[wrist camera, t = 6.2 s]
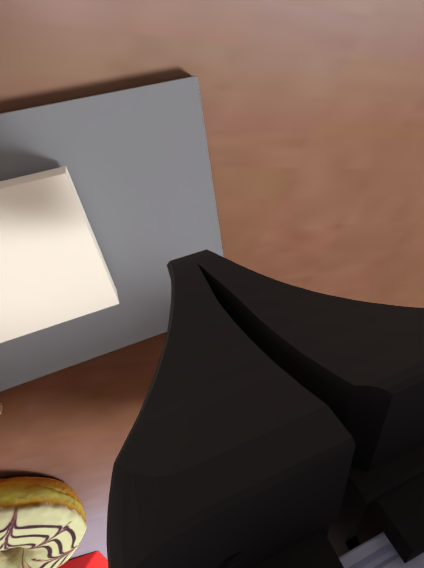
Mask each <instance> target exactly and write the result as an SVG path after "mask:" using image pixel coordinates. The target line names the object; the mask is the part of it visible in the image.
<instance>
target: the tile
mask: <svg viewBox="0 0 424 568" xmlns="http://www.w3.org/2000/svg"><path fill="white" fill-rule="evenodd" d="M117 304H119V299H118V295H117V290H116V287H115V285H114V282H113V280H112V278H111V275H110V273H109V270H108V268H107V265H106V263H105V260H104V258H103V255H102V253H101V251H100V248H99V246H98V243H97V241H96V238H95V236H94V233H93V231H92V228H91V226H90V224H89V221H88V219H87V216H86V214H85V211H84V209H83V206H82V204H81V201H80V199H79V197H78V194H77V192H76V189H75V187H74V184H73V182H72V179H71V177H70V174H69V172H68V170H67V167H66V166H64V167H59V168H55V169H51V170H47V171H42V172H38V173H34V174H29V175H25V176H21V177H17V178H12V179H8V180H4V181H0V343H2V342H5V341H8V340H11V339H14V338H17V337H20V336H23V335H26V334H29V333H32V332H35V331H38V330H41V329H45V328H48V327H51V326H54V325H57V324H60V323H63V322H66V321H69V320H72V319H75V318H78V317H81V316H84V315H87V314H90V313H93V312H96V311H99V310H102V309H105V308H108V307H111V306H114V305H117Z"/></svg>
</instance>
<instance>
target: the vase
mask: <svg viewBox="0 0 424 568" xmlns="http://www.w3.org/2000/svg"><path fill="white" fill-rule="evenodd" d="M58 568H108V560H107V559H106V558H105V557H104V556H103V555H102V554H101V553H100V552H99V551H95V552H92V553H89V554H86V555H83V556H80V557H78V558H75V559H72V560H69V561H66V562H65V563H64V564H62V565H61V566H59V567H58Z"/></svg>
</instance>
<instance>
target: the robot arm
mask: <svg viewBox="0 0 424 568" xmlns="http://www.w3.org/2000/svg"><path fill="white" fill-rule="evenodd" d="M167 268H168V272H169V275H170V279H171V306H170V315H169V322H168V328H167V333H166V338H165V342H164V346H163V350H162V353H161V357H160V360H159V363H158V367H157V370H156V373H155V375H154V378H153V381H152V383H151V386H150V388H149V391H148V393H147V396H146V398H145V400H144V403H143V405H142V408H141V410H140V412H139V415H138V417H137V419H136V421H135V423H134V425H133V427H132V429H131V431H130V433H129V435H128V437H127V439H126V441H125V443H124V445H123V447H122V449H121V451H120V452H119V454H118V456H117V458H116V460H115V462H114V466H113V472H112V479H111V486H110V493H109V503H108V515H107V555H108V568H424V308H414V307H402V306H394V305H385V304H377V303H370V302H363V301H357V300H351V299H346V298H341V297H336V296H331V295H326V294H322V293H317V292H313V291H310V290H306V289H303V288H299V287H295V286H292V285H289V284H286V283H283V282H280V281H277V280H274V279H272V278H269V277H266V276H264V275H261V274H259V273H256V272H254V271H252V270H249V269H247V268H245V267H243V266H240V265H238V264H236V263H234V262H232V261H230V260H228V259H226V258H224V257H222V256H220V255H218V254H216V253H214V252H212V251H209V250H207V249H206V250H203V251H200V252H197V253H193V254H190V255H187V256H184V257H181V258H177V259H174V260H171V261H169V262H168V264H167Z"/></svg>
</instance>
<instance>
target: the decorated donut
mask: <svg viewBox="0 0 424 568" xmlns="http://www.w3.org/2000/svg"><path fill="white" fill-rule="evenodd" d="M86 528H87V526H86V519H85V513H84V510H83V507H82V503H81V501H80V499H79V498H78V496H77V495H76V493H75V492H74V491H73V490H72V488H71V487H70V486H68V485H67V484H65V483H64V482H61V481H59V480H56V479H52V478H46V477H45V478H44V477H11V478H7V479H2V478H1V479H0V568H58V567H59V566H61V565H62V564H64V563H65V562H66V561H67V560H68V559H69V558H70V557H71V556H72V554H73V553H74V551H75V550H76V548H77V547H78V545H79V543H80V541H81V539H82V537H83V535H84V533H85V531H86Z"/></svg>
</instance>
